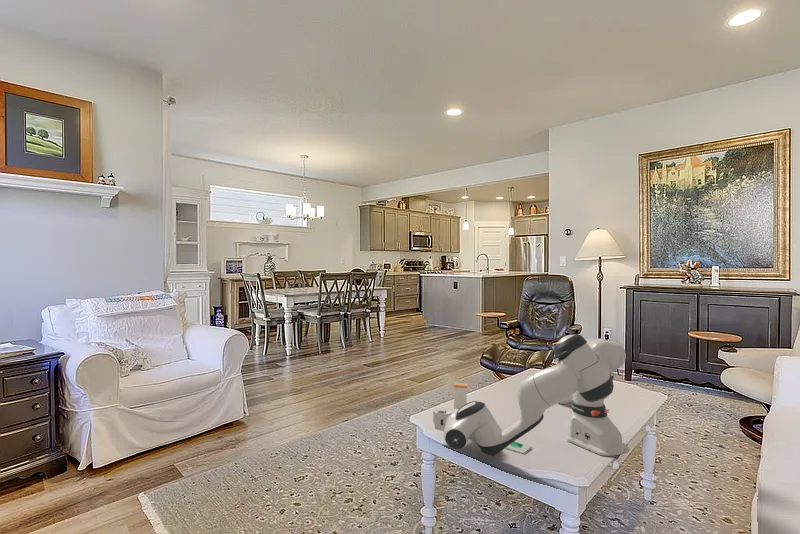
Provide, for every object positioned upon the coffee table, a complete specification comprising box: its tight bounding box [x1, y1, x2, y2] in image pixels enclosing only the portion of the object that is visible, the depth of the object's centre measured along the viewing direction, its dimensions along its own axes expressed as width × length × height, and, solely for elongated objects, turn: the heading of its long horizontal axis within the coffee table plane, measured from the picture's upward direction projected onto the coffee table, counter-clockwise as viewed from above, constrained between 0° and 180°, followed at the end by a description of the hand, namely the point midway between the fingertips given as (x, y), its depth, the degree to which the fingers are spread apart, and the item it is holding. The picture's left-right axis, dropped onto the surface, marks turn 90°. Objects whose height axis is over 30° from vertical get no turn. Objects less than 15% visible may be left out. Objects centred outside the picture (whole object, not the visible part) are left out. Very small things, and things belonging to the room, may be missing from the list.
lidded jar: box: [558, 394, 573, 405], centre depth 213 cm, size 11×11×9 cm
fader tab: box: [453, 382, 468, 409], centre depth 178 cm, size 3×5×17 cm, turn 80°
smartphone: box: [504, 441, 533, 455], centre depth 162 cm, size 7×1×15 cm
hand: (459, 409), depth 172 cm, fingers closed
